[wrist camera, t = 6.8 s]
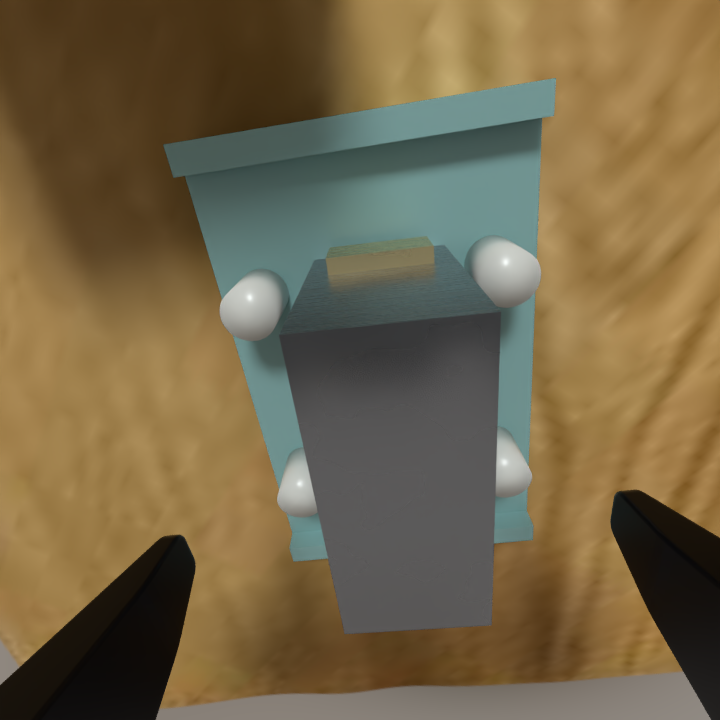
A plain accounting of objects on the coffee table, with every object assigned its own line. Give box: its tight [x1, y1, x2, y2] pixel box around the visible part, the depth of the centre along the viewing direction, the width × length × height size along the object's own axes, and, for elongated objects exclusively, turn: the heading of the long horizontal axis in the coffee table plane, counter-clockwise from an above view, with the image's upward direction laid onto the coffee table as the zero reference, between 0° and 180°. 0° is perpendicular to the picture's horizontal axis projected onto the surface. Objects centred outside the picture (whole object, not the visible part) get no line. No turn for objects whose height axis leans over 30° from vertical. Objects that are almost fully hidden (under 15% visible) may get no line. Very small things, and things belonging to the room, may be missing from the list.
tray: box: [163, 78, 556, 561], centre depth 14 cm, size 10×16×3 cm, turn 8°
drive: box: [279, 236, 501, 634], centre depth 12 cm, size 4×10×6 cm, turn 7°
